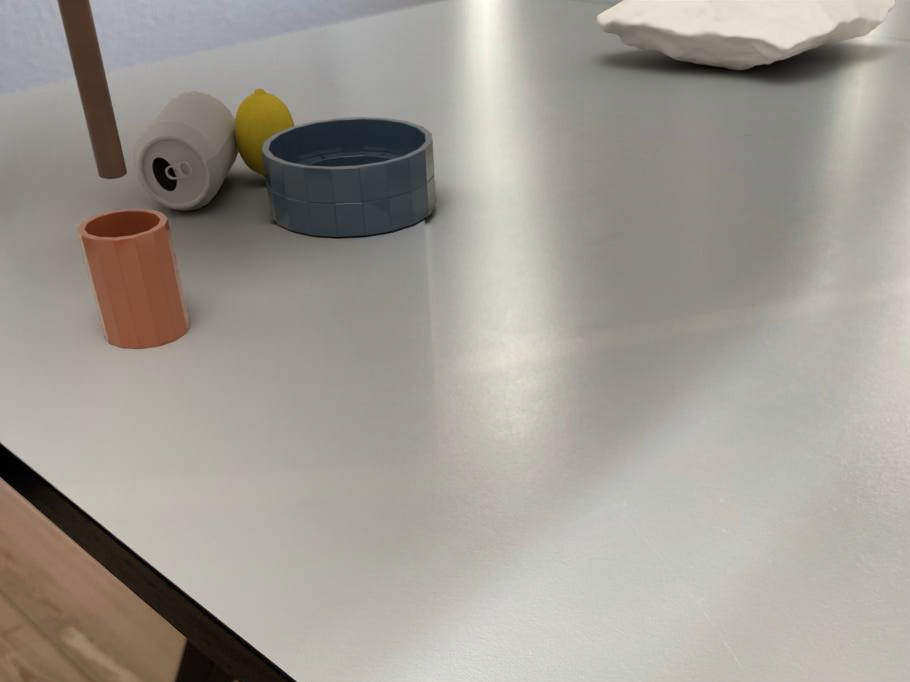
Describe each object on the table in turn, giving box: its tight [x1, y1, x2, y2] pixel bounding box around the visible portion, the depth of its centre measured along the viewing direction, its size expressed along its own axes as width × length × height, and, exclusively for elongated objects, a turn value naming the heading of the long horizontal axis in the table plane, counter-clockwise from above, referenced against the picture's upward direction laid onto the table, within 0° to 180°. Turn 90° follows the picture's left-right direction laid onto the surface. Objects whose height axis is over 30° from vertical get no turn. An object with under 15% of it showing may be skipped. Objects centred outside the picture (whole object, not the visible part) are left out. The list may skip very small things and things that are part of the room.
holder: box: [76, 208, 191, 350], centre depth 77 cm, size 6×6×8 cm
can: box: [133, 91, 239, 212], centre depth 100 cm, size 8×8×12 cm
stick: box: [56, 0, 128, 180], centre depth 66 cm, size 2×2×20 cm
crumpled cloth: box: [596, 0, 897, 71], centre depth 130 cm, size 24×35×9 cm
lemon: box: [234, 88, 296, 179], centre depth 102 cm, size 6×6×8 cm
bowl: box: [261, 116, 437, 238], centre depth 95 cm, size 14×14×6 cm
